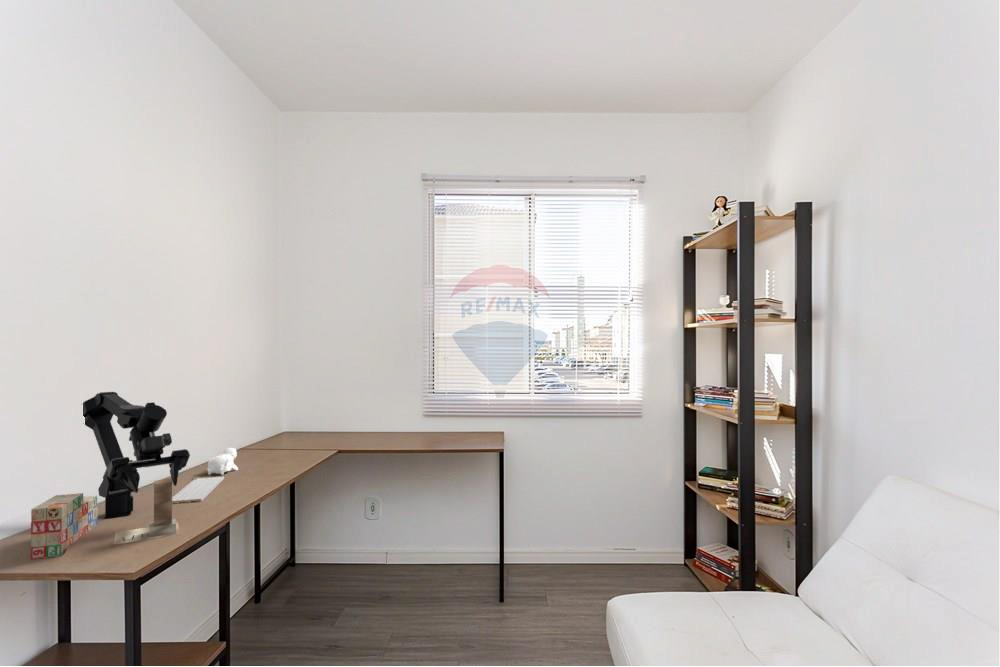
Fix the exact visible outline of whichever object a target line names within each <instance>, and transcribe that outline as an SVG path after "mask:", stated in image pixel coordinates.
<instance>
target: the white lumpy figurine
mask: <svg viewBox="0 0 1000 667" xmlns="http://www.w3.org/2000/svg"><path fill="white" fill-rule="evenodd" d="M237 456H238V452H237V449H236V448H234V447H227V448H225V449H224V450H223V452H222V454H220V455H217V456H214V457H212V458H210V459H209V460H208V463H207V469H206V471H207V474H210V475H211V476H212V474H215V475H220V476H224V475H225V474H224V473H226V472H231V470H233V471H238V470H239V467H238V466H237V465H236V464H235V462H234V460H235V459H236V458H237ZM223 474H224V475H223Z"/></svg>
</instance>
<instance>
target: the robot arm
mask: <svg viewBox="0 0 1000 667" xmlns="http://www.w3.org/2000/svg"><path fill="white" fill-rule="evenodd" d="M82 404H83V416H84V417H85V425H84V426H86V427H88V428H90V429H91V430H92V431H93V434H94V437H95V441H96V443H97V446H98V448H99V451H100V453H101V456H102V459H103V462H104V465H105V467H106V468H105V472H104V473H103V476H102V481H101V483H100V485H99V487H98V490H97V491H98V496H99V497H102V498H104V499H105V501H104V503H105V504H104V508H105V509H104V511H105V512H104V517H103V518H104V519H110V518H115V517H116V518H117V517H123V516H129V515H131V514H132V512H133V511H134V495H132V493H135V494H137V493H138V492H139V484H140V480H141V479H140V478H141V477H140V473H139V472H138V469H141V468H142V469H143V468H151V467H152V468H153V467H157V466H159V467H160V466H165V465H168V466H169V474H170V477H171V478H170V479H172V485H173V486H174V487H176V486H177V484H178V477H179V472H180V471H181V470H182V469H183V468H185V467H186V466H187V463H188V461H189V459H190V457H191V454H190V452H189V450H188V449H185V448H184V449H177V450H176V449H175V450H172V452H171V454H170V456H165V457H164V456H162V455H163V454H164V448H166V447H168V446H170V445H171V444H172V443H173V439H172V435H171V433H170V432H169V433H162V435H156V432H157V431H158V430H159V429H160V428H161V426H162V424H163V422H164V420H165V419H166V417H167V414H168V412H167V410H166V409H165V408H164V407H162V406H160V405H157V404H156V403H155V402H146V404H145V405H139V404H138V405H137V404H136V405H135V404H132V403H130V402H128V401H127V400H126V399H124V398H123V397H121V396H120V395H119V394H118V393H117V392H115V391H103V392H99V393H98V392H97V393H96V394H95V395H94V396H93V397H91V398H89V399H87V400H84V401H83V403H82ZM114 416H115V417H117V420H116V422H117V424H118V425H119V426H120V428H122V429H125V430H126V429H131V430H130V431H129V438H128V441H130V442H131V444H132V447H133V451H134V452H133V456H134V457H135V459H136V460H132V459H131V460H130V458H129V456H124V455H123V452H122V449H121V446H120V444H119V440H118V438H117V436H116V433H115V430H114V427H113V424H112V419H113V417H114Z"/></svg>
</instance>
